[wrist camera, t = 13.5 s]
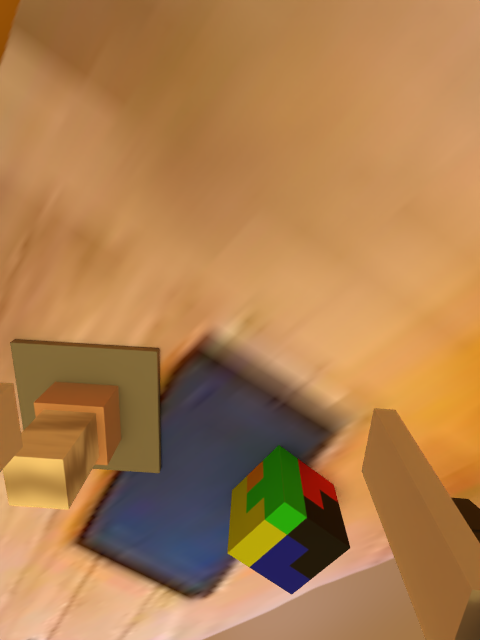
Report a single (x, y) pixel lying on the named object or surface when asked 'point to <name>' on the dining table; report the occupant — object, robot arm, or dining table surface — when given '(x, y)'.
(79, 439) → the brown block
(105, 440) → the base block
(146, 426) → the olive square panel
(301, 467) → the puzzle toy
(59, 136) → the dining table surface
